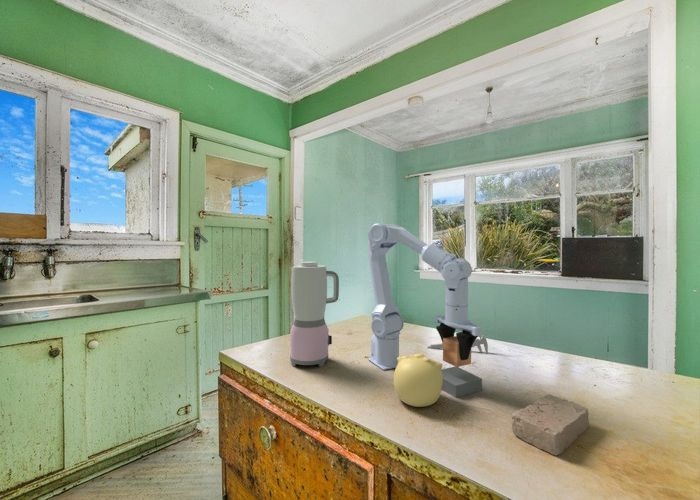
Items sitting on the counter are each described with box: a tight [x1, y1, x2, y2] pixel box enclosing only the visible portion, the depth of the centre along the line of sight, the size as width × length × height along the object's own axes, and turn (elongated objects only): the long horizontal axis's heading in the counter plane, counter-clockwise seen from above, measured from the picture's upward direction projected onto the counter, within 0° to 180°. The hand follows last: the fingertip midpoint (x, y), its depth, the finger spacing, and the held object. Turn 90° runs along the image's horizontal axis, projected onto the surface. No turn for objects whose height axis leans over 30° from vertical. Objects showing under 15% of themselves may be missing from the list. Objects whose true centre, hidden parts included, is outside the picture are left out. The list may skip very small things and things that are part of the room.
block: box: [442, 335, 472, 368], centre depth 82 cm, size 5×5×6 cm
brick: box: [510, 393, 590, 456], centre depth 63 cm, size 17×8×5 cm, turn 126°
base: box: [441, 366, 483, 399], centre depth 82 cm, size 9×9×3 cm
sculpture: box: [392, 352, 443, 408], centre depth 75 cm, size 12×12×11 cm
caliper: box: [426, 334, 489, 354], centre depth 110 cm, size 20×1×6 cm, turn 75°
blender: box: [289, 261, 340, 368], centre depth 100 cm, size 16×12×32 cm
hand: (456, 355), depth 82 cm, fingers closed on block, 5 cm apart
